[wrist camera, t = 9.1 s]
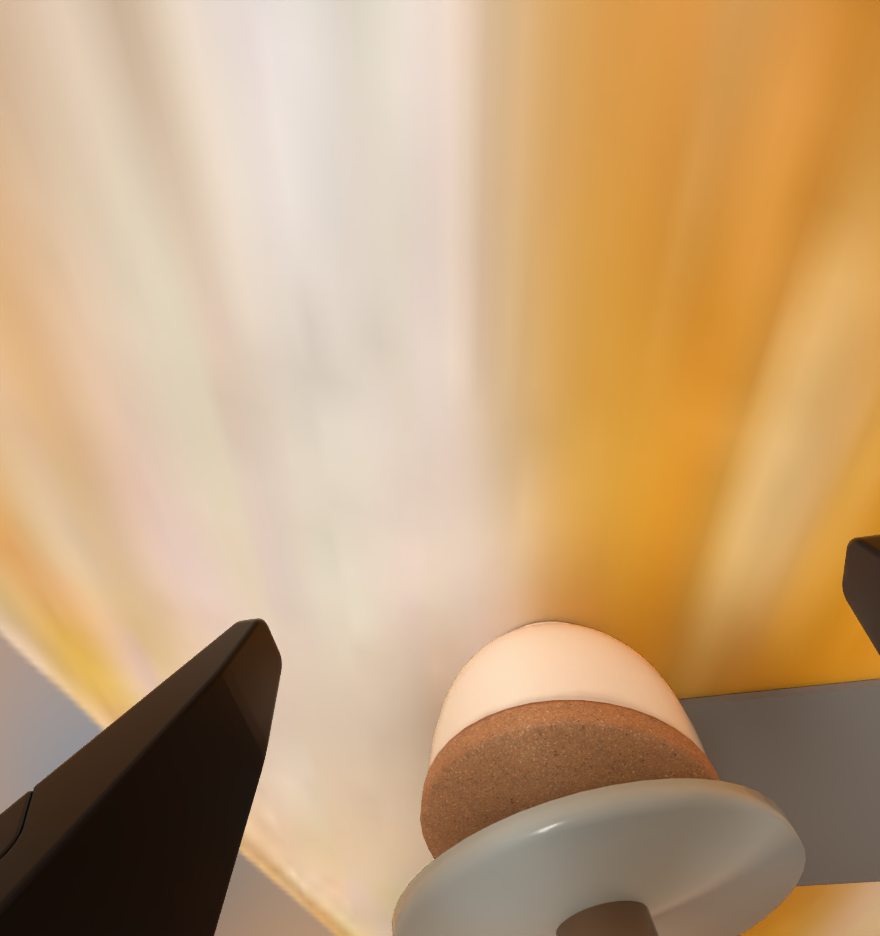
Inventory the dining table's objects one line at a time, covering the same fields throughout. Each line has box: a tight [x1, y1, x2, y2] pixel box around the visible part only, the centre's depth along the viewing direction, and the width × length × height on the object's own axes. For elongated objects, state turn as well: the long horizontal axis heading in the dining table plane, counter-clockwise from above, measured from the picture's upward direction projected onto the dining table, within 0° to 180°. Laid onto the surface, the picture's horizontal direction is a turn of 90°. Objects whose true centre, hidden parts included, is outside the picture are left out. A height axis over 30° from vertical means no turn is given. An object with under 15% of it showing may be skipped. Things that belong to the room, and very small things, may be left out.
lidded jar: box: [420, 621, 720, 859], centre depth 22 cm, size 11×11×9 cm
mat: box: [679, 679, 880, 886], centre depth 30 cm, size 16×16×1 cm
